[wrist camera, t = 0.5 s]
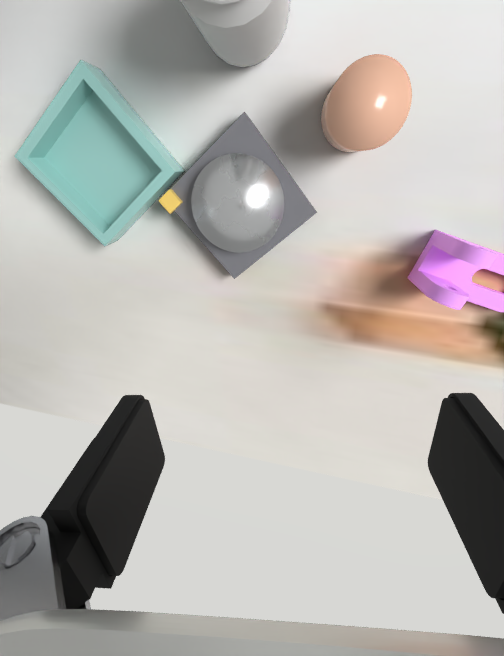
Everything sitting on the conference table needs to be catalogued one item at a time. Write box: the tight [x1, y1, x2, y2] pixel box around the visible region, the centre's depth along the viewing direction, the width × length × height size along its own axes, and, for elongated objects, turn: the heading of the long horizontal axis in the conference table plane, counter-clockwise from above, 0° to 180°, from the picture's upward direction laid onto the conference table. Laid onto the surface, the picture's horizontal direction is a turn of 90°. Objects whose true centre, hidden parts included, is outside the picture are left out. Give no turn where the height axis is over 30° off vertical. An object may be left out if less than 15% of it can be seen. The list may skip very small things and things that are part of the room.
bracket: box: [408, 230, 504, 312], centre depth 32 cm, size 13×6×7 cm, turn 72°
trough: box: [15, 60, 184, 246], centre depth 32 cm, size 11×11×3 cm
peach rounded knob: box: [321, 54, 412, 152], centre depth 27 cm, size 6×6×6 cm
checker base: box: [159, 112, 317, 279], centre depth 33 cm, size 11×11×3 cm
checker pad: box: [191, 153, 284, 253], centre depth 32 cm, size 9×9×1 cm
